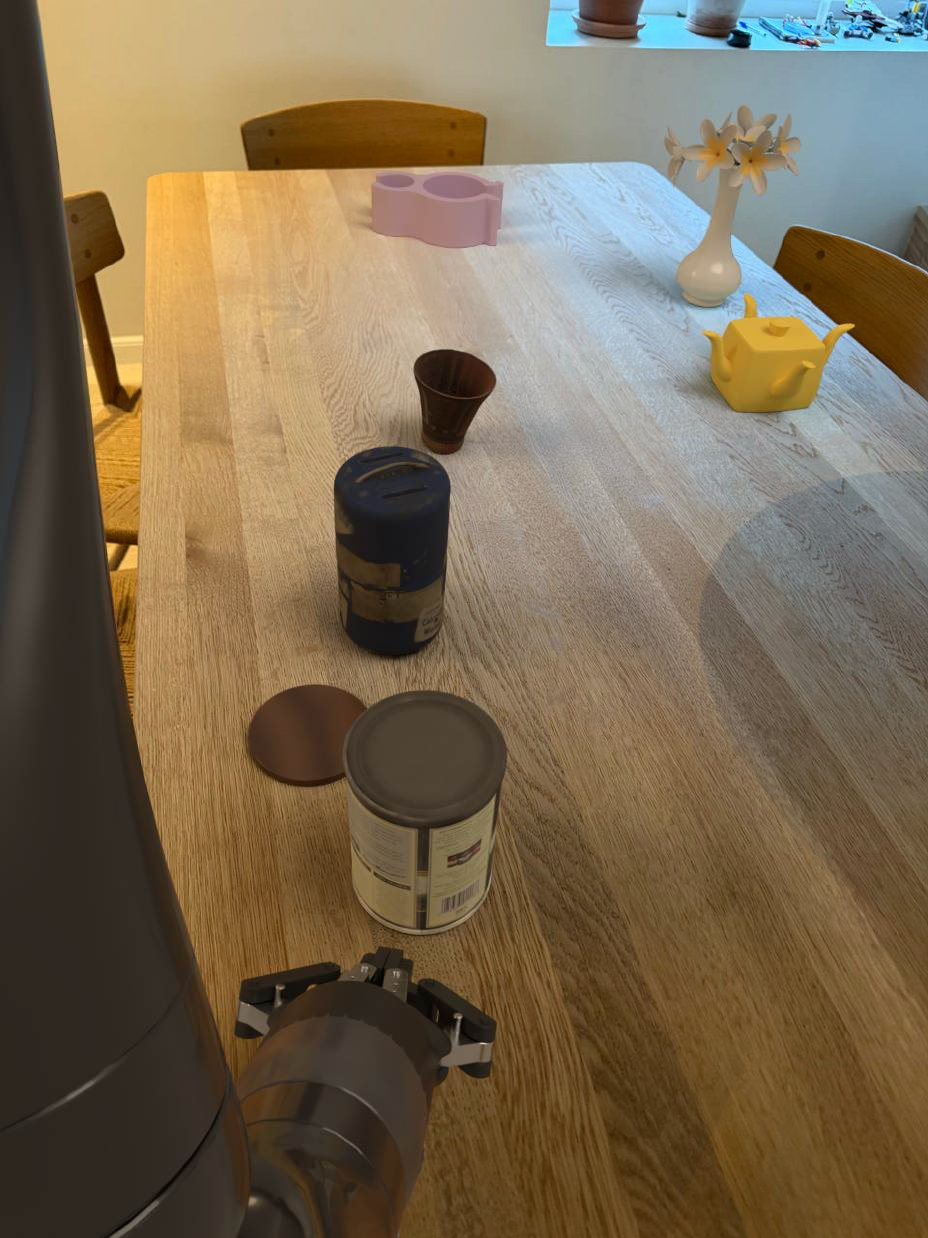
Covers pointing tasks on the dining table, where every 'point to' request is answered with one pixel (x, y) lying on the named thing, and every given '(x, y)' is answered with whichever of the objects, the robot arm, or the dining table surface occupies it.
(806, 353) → the teapot
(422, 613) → the canister
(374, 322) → the dining table surface
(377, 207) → the pink cup holder
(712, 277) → the flower vase
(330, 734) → the dark brown wooden coaster
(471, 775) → the coffee can
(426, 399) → the cup
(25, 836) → the robot arm
